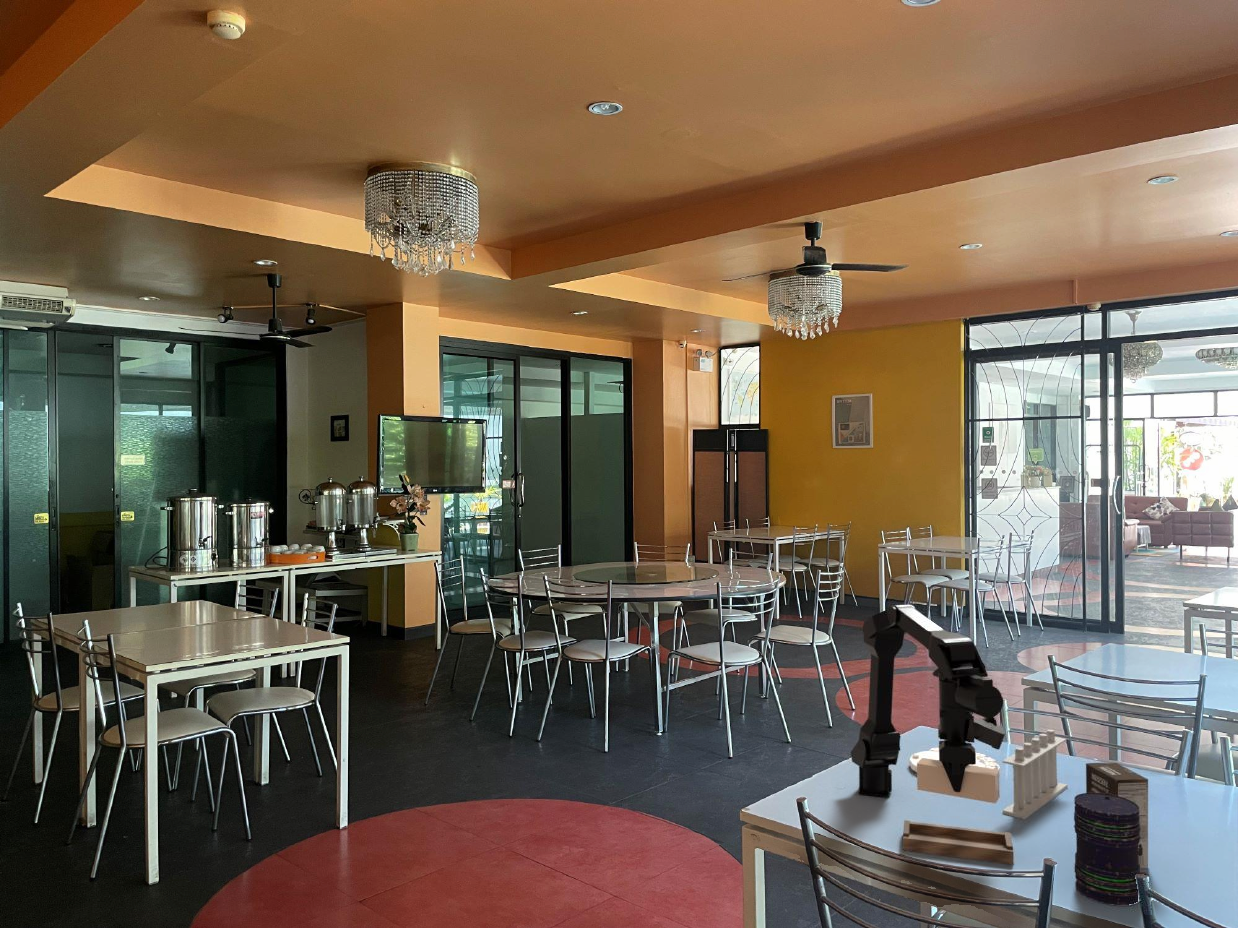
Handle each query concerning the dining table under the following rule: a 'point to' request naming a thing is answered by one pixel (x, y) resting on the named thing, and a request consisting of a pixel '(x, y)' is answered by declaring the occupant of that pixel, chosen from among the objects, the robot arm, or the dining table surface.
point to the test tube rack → (1034, 775)
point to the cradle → (958, 842)
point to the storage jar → (1106, 848)
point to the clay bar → (974, 785)
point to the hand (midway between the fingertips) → (956, 787)
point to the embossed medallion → (934, 754)
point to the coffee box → (1122, 794)
